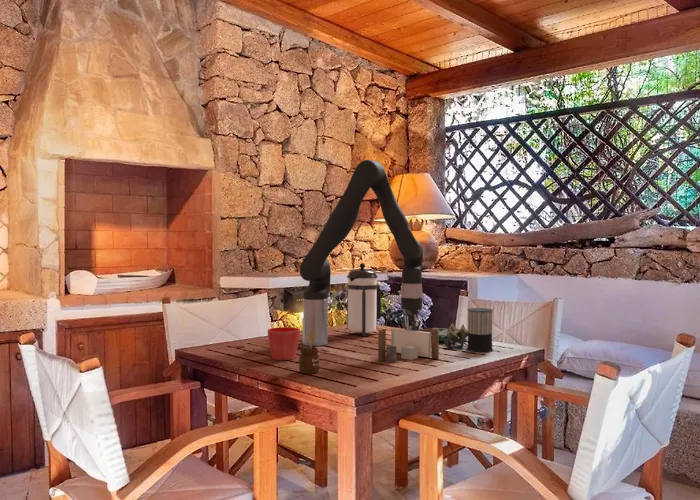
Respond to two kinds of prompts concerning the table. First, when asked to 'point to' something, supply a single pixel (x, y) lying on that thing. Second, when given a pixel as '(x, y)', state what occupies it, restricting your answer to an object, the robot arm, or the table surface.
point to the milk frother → (476, 331)
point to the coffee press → (363, 301)
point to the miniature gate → (450, 332)
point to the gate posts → (390, 351)
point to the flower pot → (283, 342)
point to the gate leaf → (412, 340)
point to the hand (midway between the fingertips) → (411, 344)
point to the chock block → (409, 352)
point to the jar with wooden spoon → (309, 358)
